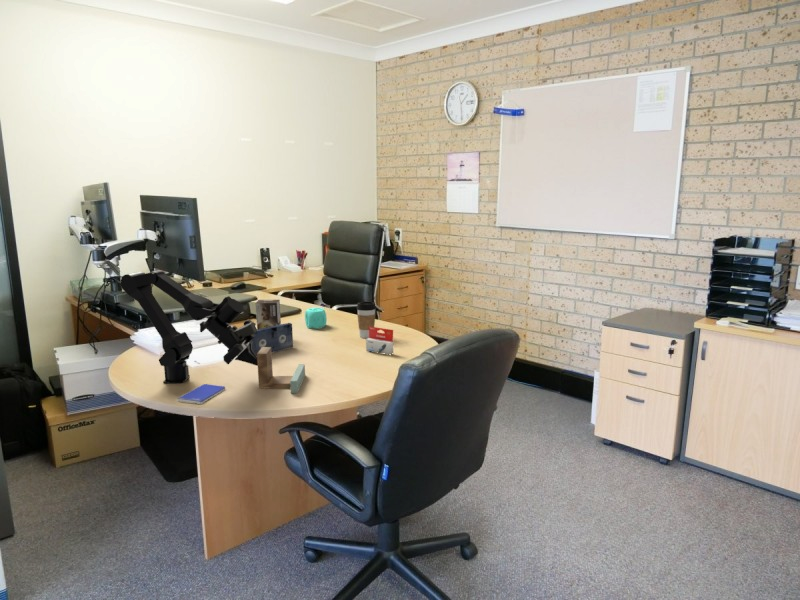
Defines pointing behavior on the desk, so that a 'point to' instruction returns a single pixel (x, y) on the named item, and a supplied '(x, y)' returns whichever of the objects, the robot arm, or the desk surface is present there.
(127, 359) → the desk surface
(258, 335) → the vhs cassette tape
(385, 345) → the ink cartridge box
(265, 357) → the bookend
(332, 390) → the desk surface
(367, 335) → the coffee cup
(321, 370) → the desk surface
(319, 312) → the decorative dice
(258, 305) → the coffee box
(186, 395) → the hard drive
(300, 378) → the board
